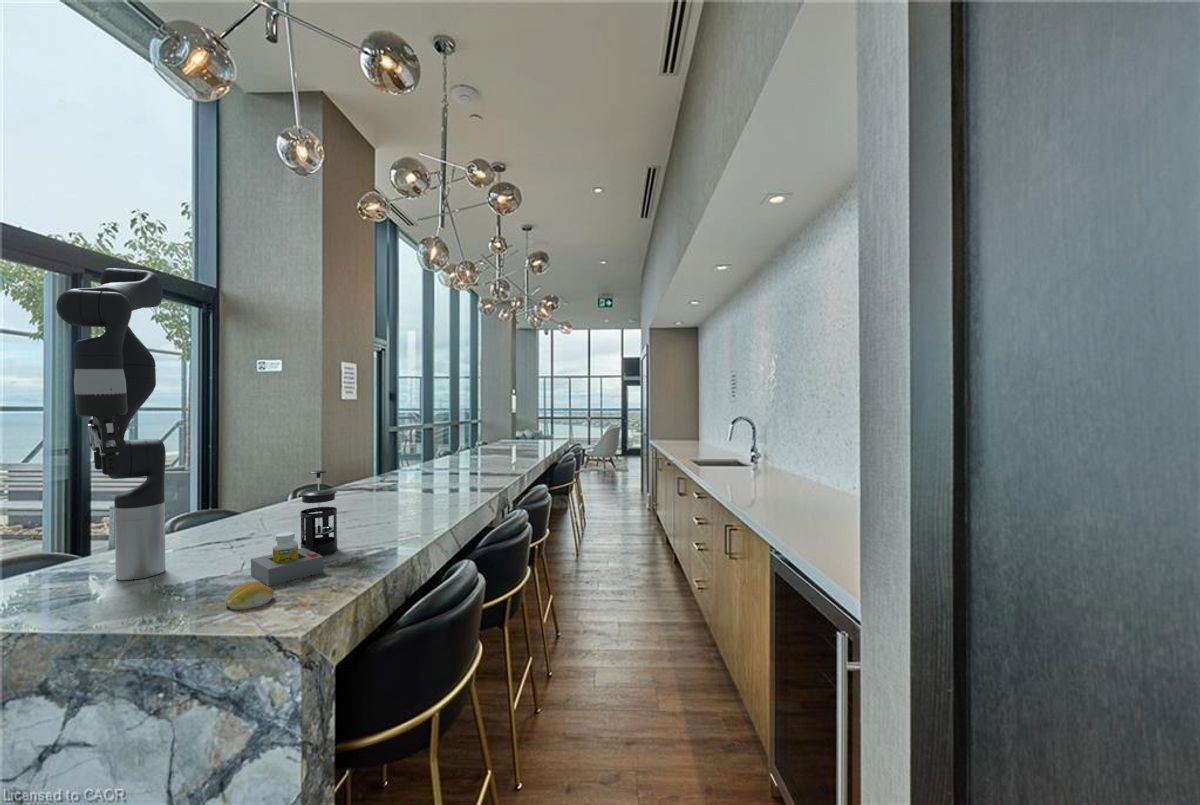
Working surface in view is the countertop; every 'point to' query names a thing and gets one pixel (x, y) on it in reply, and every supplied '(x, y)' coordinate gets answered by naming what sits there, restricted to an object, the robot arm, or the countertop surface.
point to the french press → (308, 528)
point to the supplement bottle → (285, 548)
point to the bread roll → (249, 596)
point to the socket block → (286, 567)
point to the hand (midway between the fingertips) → (106, 471)
